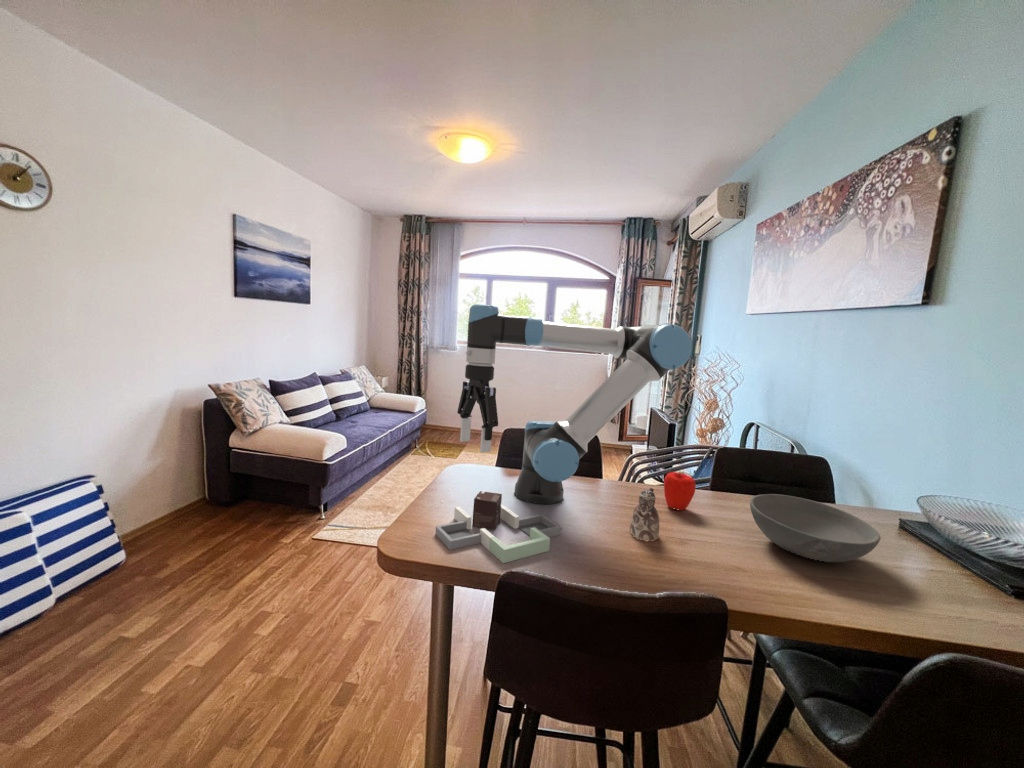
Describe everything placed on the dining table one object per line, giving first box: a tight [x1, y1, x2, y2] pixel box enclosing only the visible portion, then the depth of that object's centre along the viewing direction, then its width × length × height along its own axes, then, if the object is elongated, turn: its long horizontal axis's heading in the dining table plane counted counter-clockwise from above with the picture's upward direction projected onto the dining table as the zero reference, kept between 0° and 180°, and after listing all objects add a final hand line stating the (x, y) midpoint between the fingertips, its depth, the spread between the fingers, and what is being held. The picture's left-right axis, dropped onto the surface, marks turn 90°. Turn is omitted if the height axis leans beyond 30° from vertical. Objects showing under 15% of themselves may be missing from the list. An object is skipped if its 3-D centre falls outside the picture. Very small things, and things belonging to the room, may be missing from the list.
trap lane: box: [434, 503, 562, 564], centre depth 102 cm, size 28×24×3 cm
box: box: [471, 490, 503, 531], centre depth 106 cm, size 6×6×7 cm
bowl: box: [749, 493, 881, 563], centre depth 105 cm, size 26×26×10 cm
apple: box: [663, 471, 696, 511], centre depth 127 cm, size 9×9×11 cm
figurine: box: [629, 487, 660, 541], centre depth 107 cm, size 7×7×12 cm
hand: (474, 446), depth 112 cm, fingers open, 11 cm apart
